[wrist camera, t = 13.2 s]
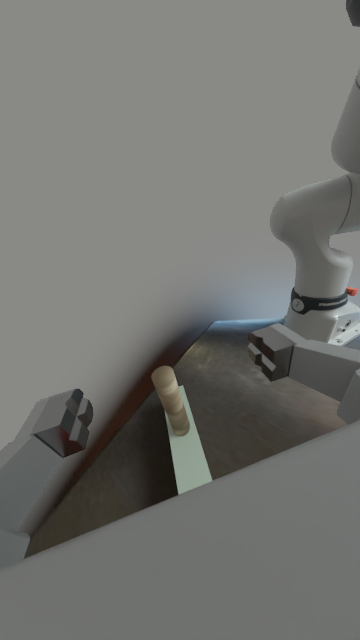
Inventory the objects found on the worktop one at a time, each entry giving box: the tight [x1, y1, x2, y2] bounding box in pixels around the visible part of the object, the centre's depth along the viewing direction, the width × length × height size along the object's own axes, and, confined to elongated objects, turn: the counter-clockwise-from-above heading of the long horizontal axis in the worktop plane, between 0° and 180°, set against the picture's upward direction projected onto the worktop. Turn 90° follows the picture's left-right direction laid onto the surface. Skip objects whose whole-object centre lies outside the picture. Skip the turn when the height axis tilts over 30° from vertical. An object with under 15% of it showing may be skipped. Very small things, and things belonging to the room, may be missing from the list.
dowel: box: [152, 366, 190, 436], centre depth 27 cm, size 3×3×14 cm
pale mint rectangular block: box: [165, 385, 212, 494], centre depth 32 cm, size 5×18×6 cm, turn 13°
